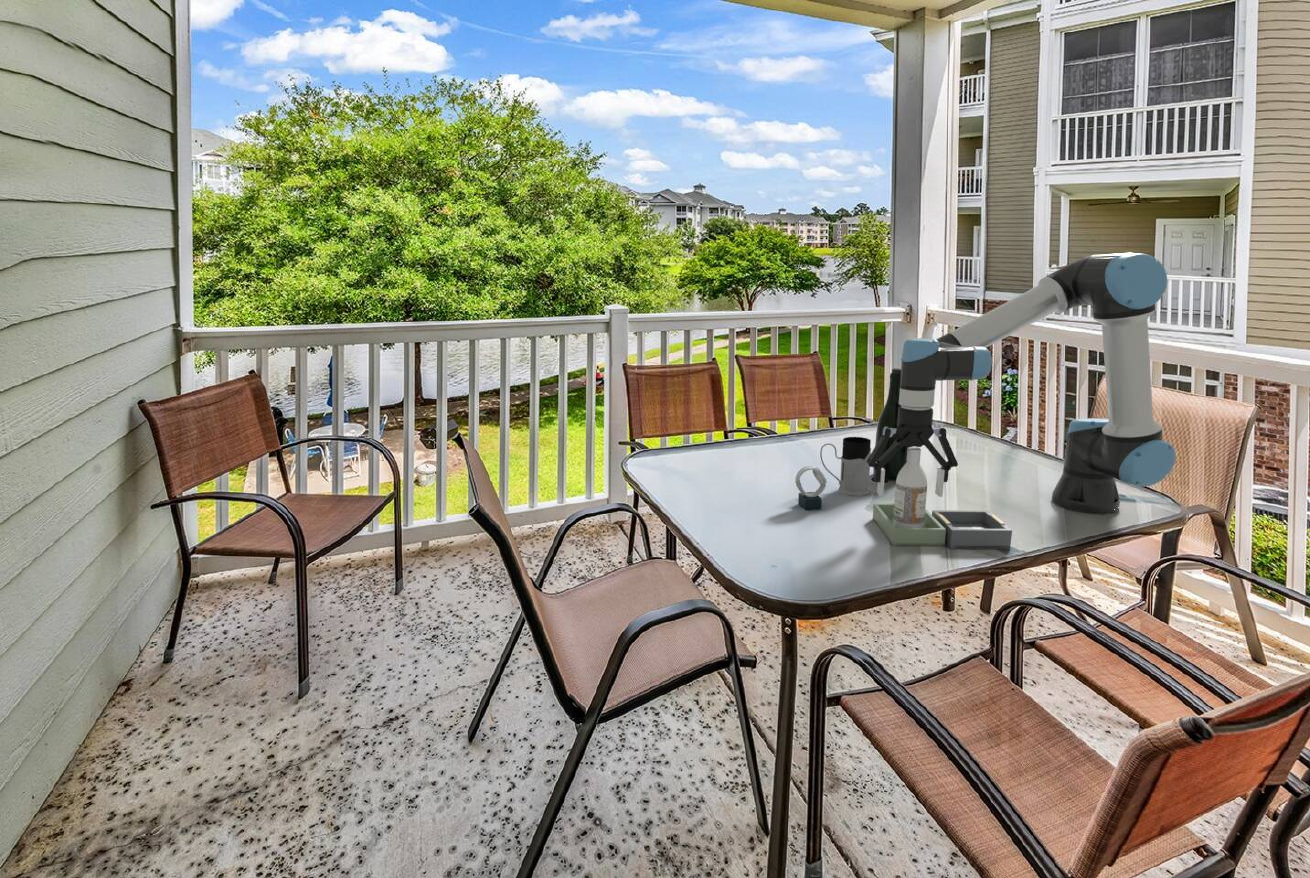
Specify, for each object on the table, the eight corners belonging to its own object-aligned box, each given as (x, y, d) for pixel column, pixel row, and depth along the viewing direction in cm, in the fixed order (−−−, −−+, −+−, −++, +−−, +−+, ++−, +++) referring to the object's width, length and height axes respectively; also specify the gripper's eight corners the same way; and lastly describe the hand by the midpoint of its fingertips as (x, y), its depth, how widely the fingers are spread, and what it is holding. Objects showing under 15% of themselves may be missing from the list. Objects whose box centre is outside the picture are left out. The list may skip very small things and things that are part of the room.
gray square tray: (985, 528, 164) (987, 509, 163) (1010, 549, 151) (1012, 529, 150) (930, 528, 165) (932, 509, 163) (950, 549, 152) (952, 528, 151)
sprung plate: (982, 526, 162) (982, 523, 162) (1000, 542, 152) (1001, 539, 152) (939, 526, 163) (939, 523, 163) (955, 542, 153) (955, 539, 153)
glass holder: (872, 496, 189) (875, 444, 185) (819, 494, 191) (821, 442, 188) (868, 486, 197) (871, 436, 193) (817, 485, 199) (819, 435, 196)
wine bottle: (875, 480, 202) (882, 370, 195) (870, 471, 212) (876, 366, 205) (912, 481, 201) (920, 371, 193) (905, 472, 211) (913, 366, 203)
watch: (828, 509, 179) (830, 469, 176) (799, 511, 178) (800, 470, 175) (820, 502, 184) (821, 463, 182) (791, 504, 183) (793, 465, 181)
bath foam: (911, 536, 158) (917, 453, 153) (886, 528, 163) (892, 447, 159) (929, 530, 161) (936, 449, 157) (904, 522, 167) (910, 443, 162)
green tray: (919, 518, 171) (920, 503, 170) (944, 546, 154) (945, 529, 153) (872, 518, 171) (873, 503, 170) (892, 545, 154) (893, 529, 153)
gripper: (965, 403, 158) (957, 490, 163) (856, 404, 160) (852, 490, 165) (978, 409, 151) (969, 500, 156) (864, 410, 152) (859, 499, 157)
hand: (909, 495), depth 160 cm, fingers open, 13 cm apart
